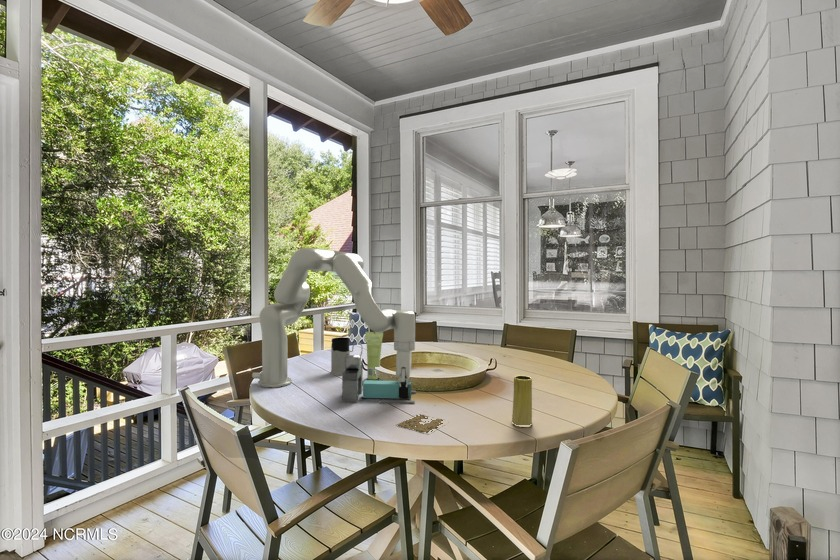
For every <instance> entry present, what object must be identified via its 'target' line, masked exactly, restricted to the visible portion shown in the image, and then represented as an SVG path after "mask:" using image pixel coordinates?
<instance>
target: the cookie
mask: <svg viewBox="0 0 840 560" xmlns="http://www.w3.org/2000/svg"><path fill="white" fill-rule="evenodd" d="M415 415H416V417H414V418H412V419H409V418H408V419H409V420H407V419H405V420H406V421H405V420H403V421H401V422H399V423H397V424H396V425H398V426H401V427H400V428H402V427H404V428H403V429H406V428H410V429H414V430H416V431H415V432H417V431H420V432H419V433H421V432H426V433H428V432H429V431H430V430H432V429H437V428H438V427H437V426H439V425H441V424H443V423H441V421H443V420H444V419H442V418H437V419H436V420H432V419H431V420H432V421H431V422H430V423H427V424H424V425H423V424H420V423H419V422H422V421H421V419H428V417H429V415H425V414H421V413H420V414H419V415H420V416H418V415H417V414H415ZM425 417H427V418H425ZM425 422H426V421H425ZM428 422H429V421H428ZM439 423H440V424H439ZM398 426H397V427H398ZM415 426H416V427H415ZM410 429H409V430H410ZM437 430H438V429H437ZM432 431H433V430H432ZM432 431H431V432H432Z"/></svg>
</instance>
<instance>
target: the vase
mask: <svg viewBox="0 0 840 560" xmlns="http://www.w3.org/2000/svg"><path fill="white" fill-rule="evenodd" d="M513 377H514V378H513V396H512V397H513V400H512V401H513V402H512V415H511V416H512V417H511V423H512V422H513V423H514V424H516V425H530V424H532V425H533V393H532V392H533V387H532V386H533V378H532V377H531V376H528V375H520V374H519V375H515V376H513Z"/></svg>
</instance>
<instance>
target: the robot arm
mask: <svg viewBox="0 0 840 560" xmlns="http://www.w3.org/2000/svg"><path fill="white" fill-rule="evenodd" d="M364 264H365V263H364V261H363V259H362V257H361V256H360V255H359V254H357V253H353V252H352V253H351V252H347V251H341V250H339V251H338V250H333V249H325V248H312V247H305V248H302V247H301V248H299V249H297V250H296V251H295V252H293V253H292V255H291V256H290V259H289V261H288V263H287V266H286V268H285V270H284V272H283V274H282V275H281V278H280V280H279V282H278V283H277V286H276V288H275V289H274V294H273V295H274V297H273V298H274V299H275V301H276V302H277V303H271V304H268V305H266V306H264V307H263V308H261V310H260V312H259V319H258V320H259V324H260V329H261V351H262V352H261V359H262V360H261V368H262V369H261V372H252V374H251V377H252V378H253V380H255V379H256V380H257V379H259V380H258V381H257V385H258V387H261V386H263V387H262V388H268V387H272V388H279V387H280V388H281V386H282V387H285V386H288V385H290V384H292V381H293V379H292V378H290V377H288V334H287V332H286V328H285V327H286V326H291V325H293V324H295V323H296V322H297V321H298V320H299V318H300V316H301V314H302V313H303V311H304V309H305V307H306V305H307V303H308V301H309V299H310V297H311V289H310V288H311V287H310V286H309V284H308V282H306V280H307V277H308V275H309V271H314V272H333V273H336V275H337V276H338V277H339V279H340V280H341V282H342V283H343V284H344V286H345V287H346V288H347V290H348V292H349V293H350V294H351V295H352V297H353V303H354V306H355V308H356V311H357V313H358V314H359V316H360V318H361V319H362V321H363V322H364V324H365V325H366V326H367V327H368V328H369V329H370V330H371V331H372V332H383V333H384V332H386V331H388V330H392V329H393V350H394V351H396V355H395V356H396V358H395V379H396V380H398V379H399V381H400V387H399V398H398V399H401V400H402V399H403V400H405V399H407V398H408V387H407V385H408V381H409V379H410V377H411V372H412V371H411V369H412V355H413V354H412V352H413V351H415V350H416V314H415V312H414V311H412V310H397V309H391V308H385V309H381V308H380V307H379V306H378V304H377V303H376V302H375V300H374V298H373V294H372V288H373V282H372V281H371V279H370V278H369V277H368V275H367V274H366V273H365V271H364V267H365V266H364Z"/></svg>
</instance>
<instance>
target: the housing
mask: <svg viewBox="0 0 840 560" xmlns="http://www.w3.org/2000/svg"><path fill="white" fill-rule="evenodd" d="M360 355H361V354H356V355H355V354H350V355H346V356H345V369H346V370H345V371H344V372H343V373H342V375H341V377H342V378H341V380H342V384H341V387H342V388H341V391H342V392H341V396H342V397H341V402H342V403H358V401H359V395H361V394H363V371H364V370H363V365H362V355H361V356H360Z"/></svg>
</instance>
